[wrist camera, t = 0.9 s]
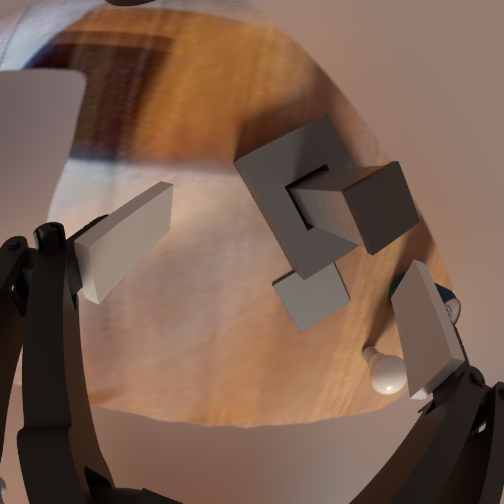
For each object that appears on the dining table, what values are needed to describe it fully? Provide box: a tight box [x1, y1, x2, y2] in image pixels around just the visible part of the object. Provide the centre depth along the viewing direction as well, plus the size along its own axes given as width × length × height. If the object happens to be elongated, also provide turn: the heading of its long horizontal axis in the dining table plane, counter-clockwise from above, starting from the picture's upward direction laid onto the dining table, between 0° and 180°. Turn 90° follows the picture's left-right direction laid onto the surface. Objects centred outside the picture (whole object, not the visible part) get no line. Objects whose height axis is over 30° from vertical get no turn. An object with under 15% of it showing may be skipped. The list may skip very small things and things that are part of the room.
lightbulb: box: [362, 346, 407, 395], centre depth 38 cm, size 6×6×11 cm
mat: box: [272, 263, 350, 333], centre depth 39 cm, size 9×9×1 cm
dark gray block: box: [233, 115, 359, 280], centre depth 33 cm, size 16×12×5 cm
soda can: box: [389, 273, 461, 325], centre depth 36 cm, size 7×7×12 cm
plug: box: [285, 161, 420, 255], centre depth 27 cm, size 5×5×19 cm
